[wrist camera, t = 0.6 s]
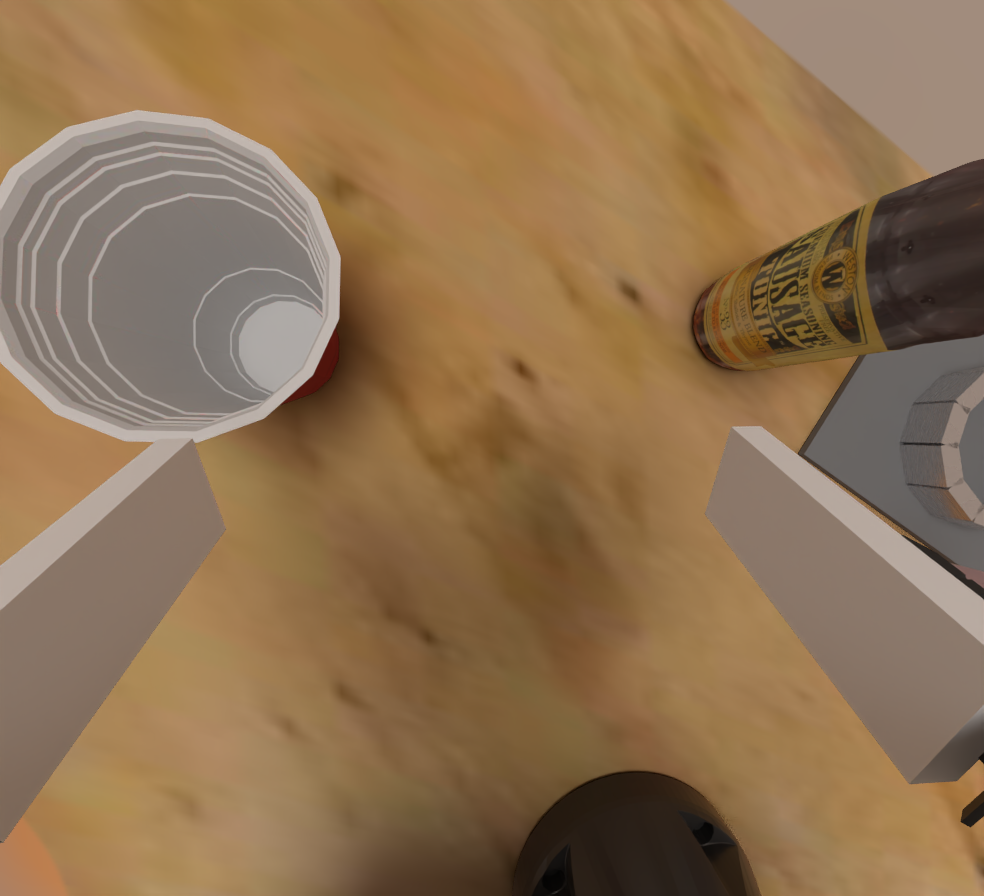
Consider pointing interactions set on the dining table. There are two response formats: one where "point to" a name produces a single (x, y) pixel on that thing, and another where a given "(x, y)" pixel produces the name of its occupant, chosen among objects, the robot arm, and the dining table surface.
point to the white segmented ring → (942, 448)
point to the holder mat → (876, 438)
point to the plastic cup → (164, 278)
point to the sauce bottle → (858, 282)
